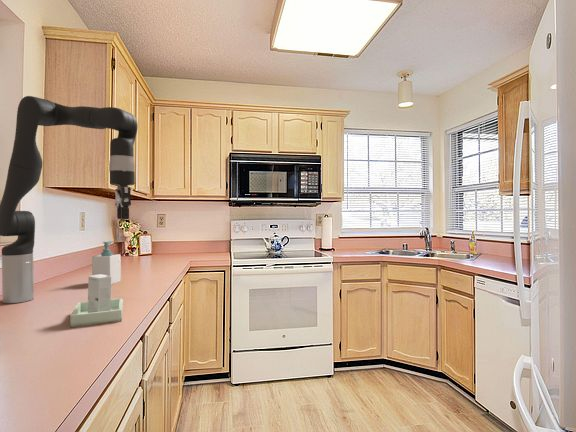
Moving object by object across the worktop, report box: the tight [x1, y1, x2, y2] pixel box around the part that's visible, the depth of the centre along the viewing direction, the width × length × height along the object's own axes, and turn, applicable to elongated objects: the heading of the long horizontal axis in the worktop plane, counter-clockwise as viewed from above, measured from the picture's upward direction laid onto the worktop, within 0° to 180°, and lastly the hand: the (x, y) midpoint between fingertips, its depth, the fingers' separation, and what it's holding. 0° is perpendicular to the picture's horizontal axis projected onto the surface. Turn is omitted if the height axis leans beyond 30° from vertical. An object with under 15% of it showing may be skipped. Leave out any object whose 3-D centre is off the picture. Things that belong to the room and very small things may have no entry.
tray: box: [69, 297, 124, 328], centre depth 109 cm, size 16×13×3 cm
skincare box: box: [87, 274, 112, 313], centre depth 109 cm, size 6×4×12 cm
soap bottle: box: [91, 240, 122, 285], centre depth 161 cm, size 9×9×19 cm
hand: (123, 219), depth 117 cm, fingers open, 8 cm apart
